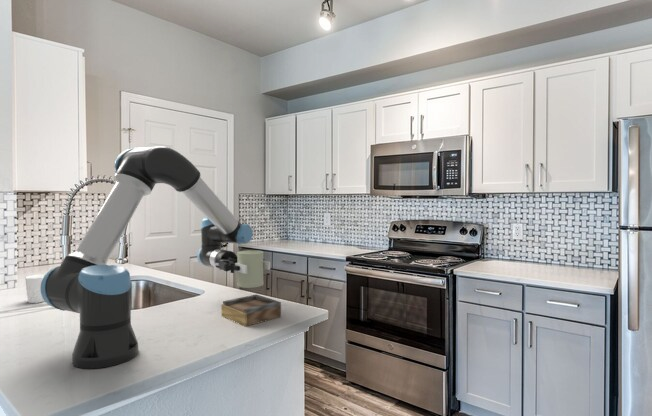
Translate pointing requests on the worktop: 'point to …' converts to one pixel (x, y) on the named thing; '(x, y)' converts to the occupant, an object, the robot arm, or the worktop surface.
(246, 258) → the can
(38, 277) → the white cup
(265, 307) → the brown wooden tray
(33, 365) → the worktop surface
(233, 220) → the robot arm
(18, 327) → the worktop surface
